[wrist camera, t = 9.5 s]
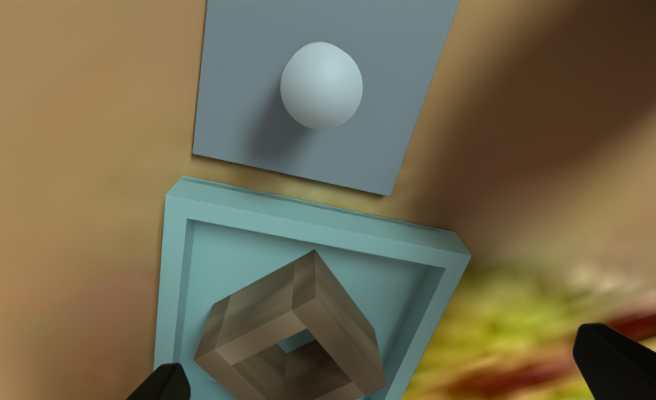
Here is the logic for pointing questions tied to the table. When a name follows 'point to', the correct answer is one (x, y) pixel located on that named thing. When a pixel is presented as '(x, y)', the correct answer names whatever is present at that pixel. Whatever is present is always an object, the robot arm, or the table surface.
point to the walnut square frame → (284, 321)
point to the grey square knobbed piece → (318, 85)
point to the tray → (286, 246)
